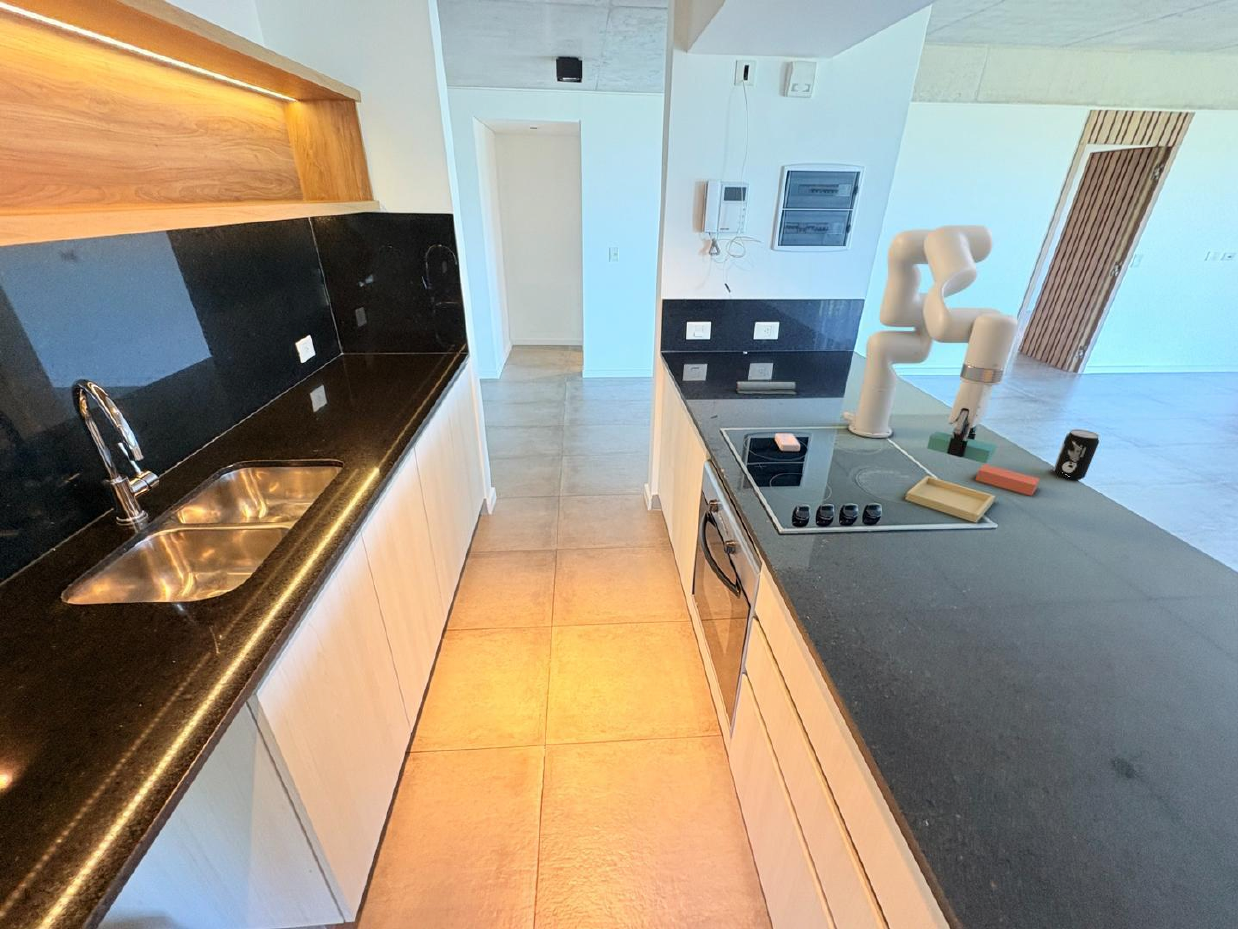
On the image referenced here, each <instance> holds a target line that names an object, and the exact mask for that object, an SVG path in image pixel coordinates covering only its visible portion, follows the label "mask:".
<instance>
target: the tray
mask: <svg viewBox="0 0 1238 929" xmlns="http://www.w3.org/2000/svg"><path fill="white" fill-rule="evenodd" d="M995 497H996V496H995V495H994V494H990V493H987V492H983V491H981V490H976V489H973V488H970V487H966V486H963V485H959V484H956V483H954V482H953V483H952V482H949V481H946V480H942V479H939V478H935V477H932V476H929V475H926V476H924V478H922V479H921V480H920V481H918V482H917V483H916V484H915V485H914V486H913V487H912V488H911V489H909V490H908V491H907V492H906V494H905V499H904V500H906V501H908V502H912V503H914V504H918V505H921V506H924V507H927V508H930V509H933V510H935V511H939V512H942V513H945V514H948V515H950V516H953V517H957V518H959V519H963V520H966V521H969V522H972V523H975V524H976V523H978V521H979V520H980V519H981V518H982V517H983V515H985V513H986V512H987V511H988V510H989V508H990V507H991V506H992V505H993V503H994V501H995Z"/></svg>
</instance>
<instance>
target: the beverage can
mask: <svg viewBox="0 0 1238 929" xmlns="http://www.w3.org/2000/svg"><path fill="white" fill-rule="evenodd" d="M1099 437H1100V434H1098V433H1096V432H1094V431H1090V430H1086V429H1077V428H1076V429H1073V428H1072V429H1071V430H1069V432H1068V433H1067V434H1066V435H1065V438H1064V440H1063V443H1062V445H1061V448H1060V450H1059V453H1058V457H1057V458H1056V461H1055V463H1054V467H1055V468H1054V467H1053V470H1052V472H1054V475H1056V476H1058V477H1059V478H1062V479H1066V480H1069V481H1080V480H1083V479H1084V478H1085V477H1086V476H1087V473H1088V470H1089V467H1090V466H1091V463H1092V460H1093V458H1094V456H1095V453H1096V452H1097V449H1098V446H1099V443H1100V440H1099ZM1062 472H1063V473H1062ZM1065 474H1067V475H1068V476H1070V477H1068V476H1067V475H1065Z"/></svg>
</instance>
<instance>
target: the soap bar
mask: <svg viewBox="0 0 1238 929" xmlns="http://www.w3.org/2000/svg"><path fill="white" fill-rule="evenodd" d="M774 441H775V443H776V444H777V446H778V447H779V450H780V451H781V452H799V451H800V450H801V444H800V442H799V440H797V438H796V436H795V435H794V434H793V433H780V432H779V433H777V432H776V433H775V434H774Z"/></svg>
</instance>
